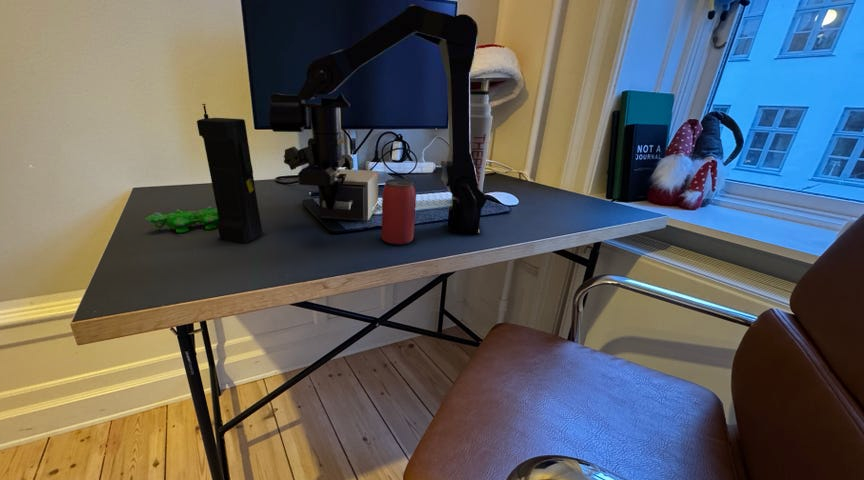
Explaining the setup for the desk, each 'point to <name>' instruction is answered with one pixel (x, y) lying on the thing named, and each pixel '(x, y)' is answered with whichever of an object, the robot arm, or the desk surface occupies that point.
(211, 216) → the crocodile figurine
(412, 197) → the beer can
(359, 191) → the drawer
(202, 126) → the portable radio
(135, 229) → the desk surface
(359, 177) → the small drawer cabinet
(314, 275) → the desk surface
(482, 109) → the thermos bottle
